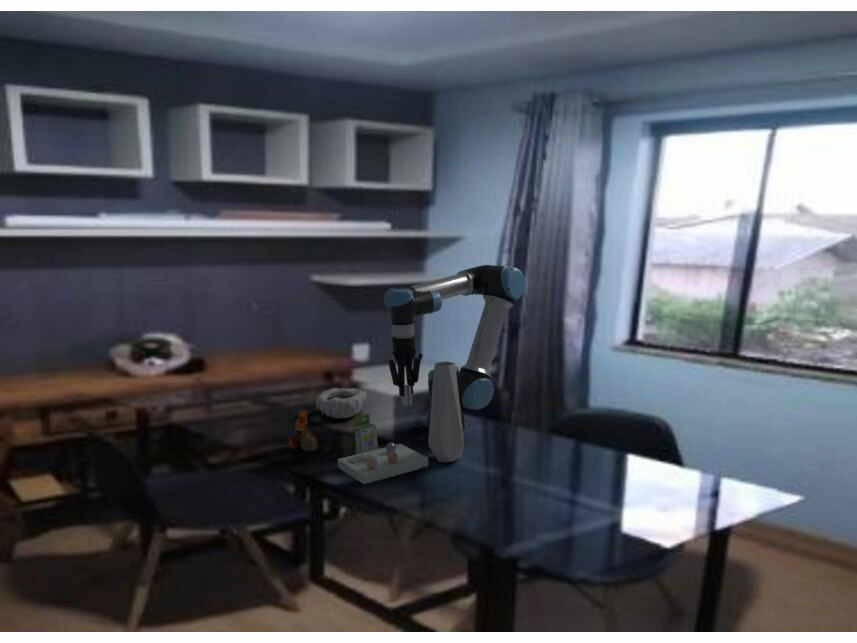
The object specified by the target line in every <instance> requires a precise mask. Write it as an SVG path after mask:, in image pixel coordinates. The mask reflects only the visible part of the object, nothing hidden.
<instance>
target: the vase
mask: <svg viewBox="0 0 857 643" xmlns="http://www.w3.org/2000/svg"><path fill="white" fill-rule="evenodd" d="M456 367H457V366H456V363H455V362H453V361H452V362H451V361H448V360H447V361H438V362H434V367H433V369H434V378H433V390H432V402H431V415H430V427H429V431H428V447H429V448H430V450H431V452H432V454H433V455H434V457H435V459H436V460H437V462H438V461H439V463H447V462H451V461H455V460H456V461H458V460H459V459H460V458H461V457H462V454H463V451H464V448H465V442H464V440H465V439H464V432H463V431H464V429H463V430H462V421H461V412H460V408H461V406H460V403H459V394H458V385H457V376H456ZM458 458H459V459H458ZM457 459H458V460H457ZM444 461H445V462H444ZM456 461H455V462H456Z"/></svg>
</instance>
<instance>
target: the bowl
mask: <svg viewBox="0 0 857 643" xmlns="http://www.w3.org/2000/svg"><path fill="white" fill-rule="evenodd" d="M315 399H316V400H315V402H316V403H315V404H316V405H315V406H316V407H315V409H316V410H317V412H318V410H319V411H320V412H321V416H324V414H326V417H327V418H329V417H330V418H332V419H336V420H337V419H347V418H348V419H349V418H351V417H353V416H355V415H357V414H358V413H360V412H361V411H362V410H364V409H365V408H366V407H367V403H368V396H367V391H365V390H361V389H357V388H355V387H354V388H353V387H352V388H350V387H349V388H337V387H333V388H329V389H327V390H324V391H323V392H321V394H320V395H318V396H317V397H316V398H315Z"/></svg>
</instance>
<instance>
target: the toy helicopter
mask: <svg viewBox="0 0 857 643" xmlns="http://www.w3.org/2000/svg"><path fill="white" fill-rule="evenodd" d="M308 414H309V413H308V410H303V409H302V410H300V411H299V415H298V418H297V420H295V421H294V430H295V435H291V436H289V437H288V444H290V445H291V447H292V448H296V449H297V448H298V445H299V446H300V448H301V449H302V451H303V450H304V451H305V450H310V451H311V452H315V451H317V450H318V447H319V446H318V441H317V439H316V437H315V436H314V434H313V433H312V432H311V431H310V432H309V431H308V428H307V425H308V419H307V418H308ZM290 445H289V446H290ZM304 451H303V452H304Z"/></svg>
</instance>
